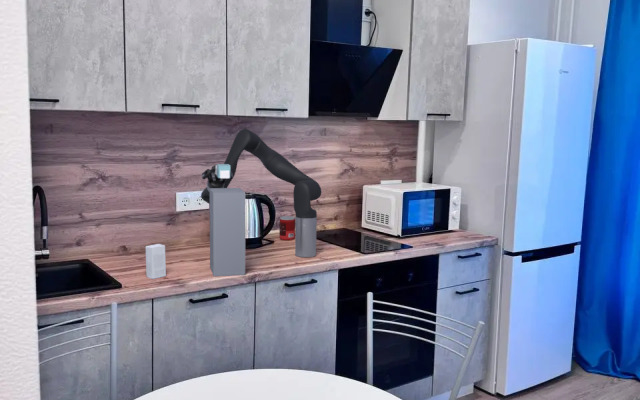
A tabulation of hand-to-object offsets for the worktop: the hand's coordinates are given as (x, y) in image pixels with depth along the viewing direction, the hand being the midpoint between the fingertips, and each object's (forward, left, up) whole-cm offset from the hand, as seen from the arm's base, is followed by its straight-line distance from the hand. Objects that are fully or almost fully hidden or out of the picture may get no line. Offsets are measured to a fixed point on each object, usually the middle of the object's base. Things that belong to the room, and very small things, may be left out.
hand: (219, 167), depth 253 cm
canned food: (-47, +16, -39) cm, 63 cm away
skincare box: (+36, -10, -39) cm, 54 cm away
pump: (+5, +3, -3) cm, 6 cm away
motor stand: (+20, +12, -39) cm, 46 cm away
